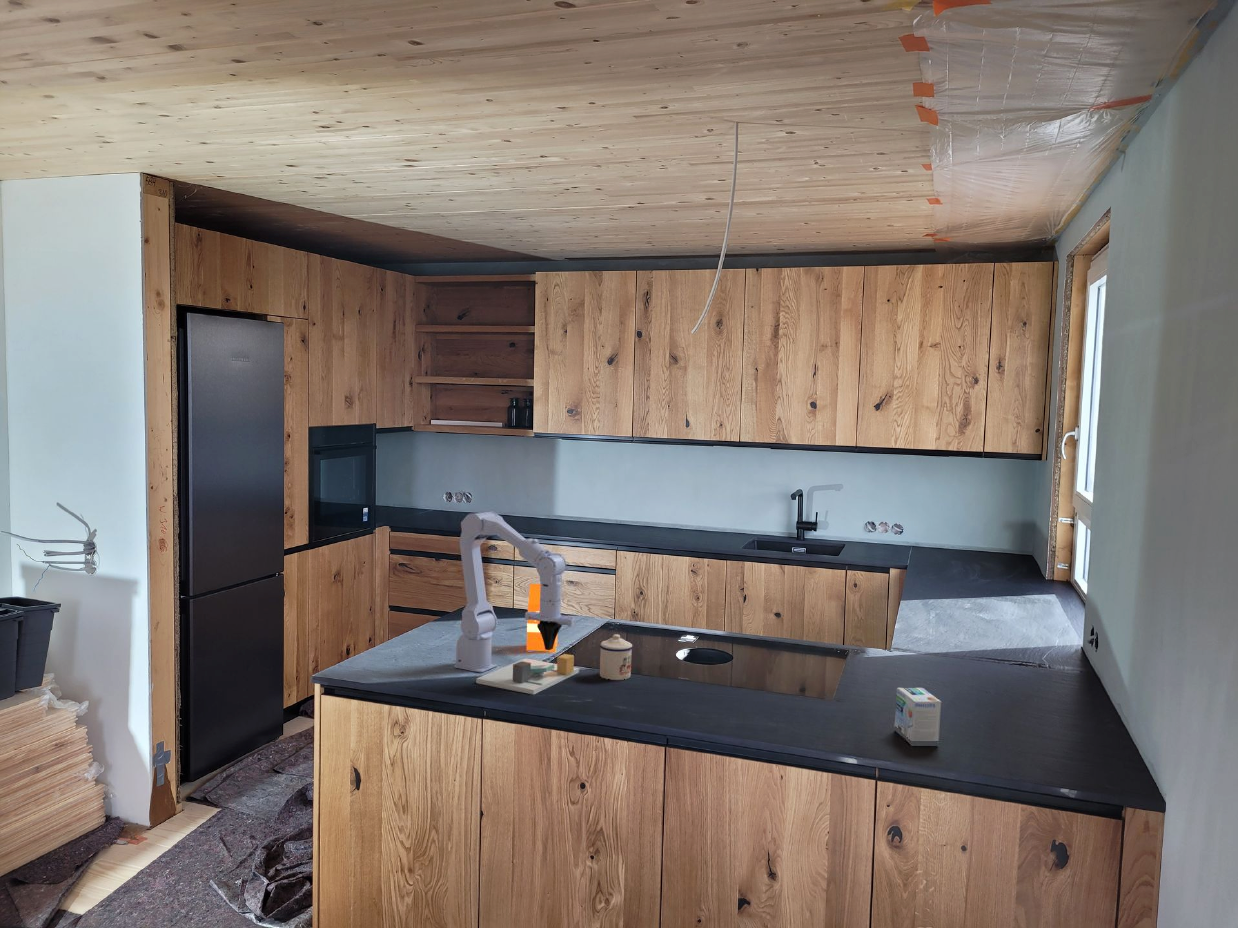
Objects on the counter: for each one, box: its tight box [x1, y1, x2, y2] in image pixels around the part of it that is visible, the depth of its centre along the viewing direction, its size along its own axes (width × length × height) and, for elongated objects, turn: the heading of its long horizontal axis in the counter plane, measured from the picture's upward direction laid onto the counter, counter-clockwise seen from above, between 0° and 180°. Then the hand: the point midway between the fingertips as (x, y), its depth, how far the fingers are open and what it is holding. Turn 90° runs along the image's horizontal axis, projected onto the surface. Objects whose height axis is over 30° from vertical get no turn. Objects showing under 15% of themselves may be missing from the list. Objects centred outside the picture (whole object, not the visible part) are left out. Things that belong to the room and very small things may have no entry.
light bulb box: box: [894, 687, 942, 741], centre depth 214 cm, size 11×7×11 cm, turn 5°
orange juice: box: [526, 583, 558, 653], centre depth 282 cm, size 8×9×20 cm
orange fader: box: [556, 653, 575, 675], centre depth 253 cm, size 3×4×4 cm
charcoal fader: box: [512, 661, 531, 683], centre depth 244 cm, size 3×4×4 cm
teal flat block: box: [530, 663, 555, 673], centre depth 250 cm, size 8×4×1 cm, turn 63°
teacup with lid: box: [599, 633, 633, 681], centre depth 257 cm, size 12×9×12 cm
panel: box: [475, 658, 580, 696], centre depth 252 cm, size 18×24×2 cm
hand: (548, 649), depth 248 cm, fingers closed
